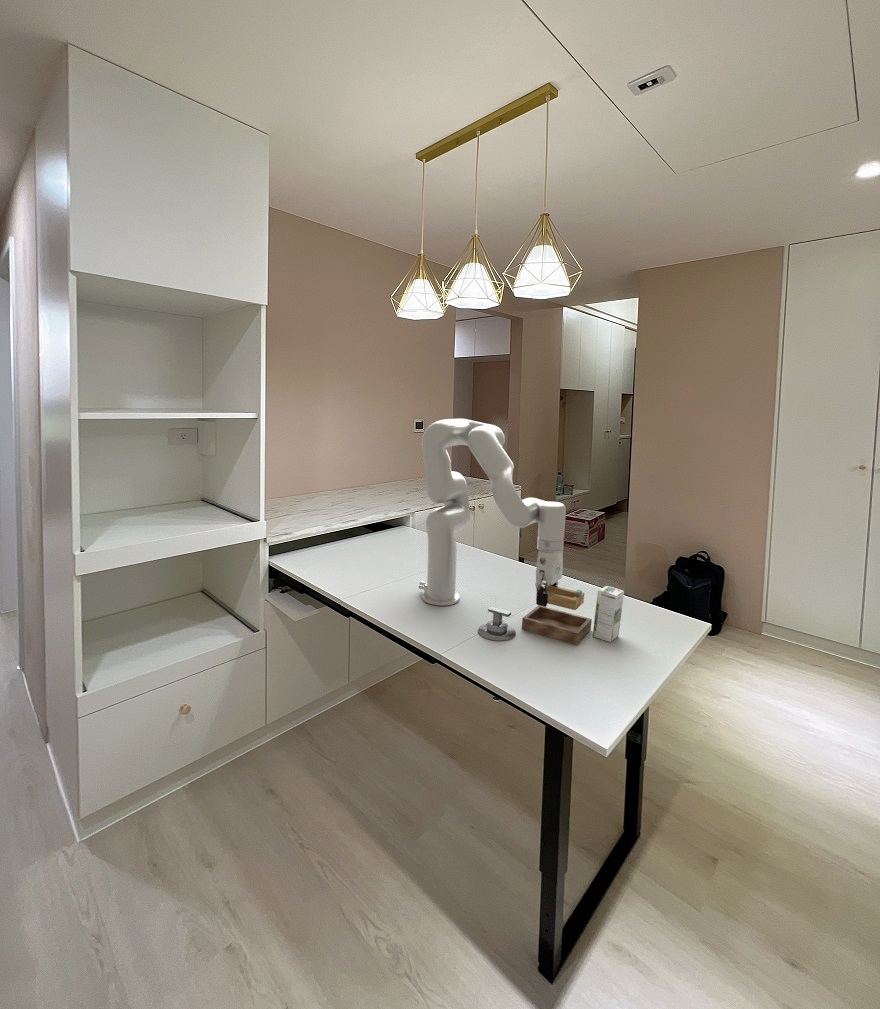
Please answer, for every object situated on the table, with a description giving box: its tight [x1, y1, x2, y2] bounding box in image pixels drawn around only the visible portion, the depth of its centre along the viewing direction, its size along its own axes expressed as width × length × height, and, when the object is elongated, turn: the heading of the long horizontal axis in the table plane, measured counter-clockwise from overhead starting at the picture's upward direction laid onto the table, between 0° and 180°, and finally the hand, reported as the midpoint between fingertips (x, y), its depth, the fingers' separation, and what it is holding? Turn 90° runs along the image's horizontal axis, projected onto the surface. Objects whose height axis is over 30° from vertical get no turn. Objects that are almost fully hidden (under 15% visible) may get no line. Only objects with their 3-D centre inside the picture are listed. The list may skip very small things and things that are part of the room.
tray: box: [521, 605, 593, 646], centre depth 159 cm, size 17×12×4 cm
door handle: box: [477, 606, 517, 642], centre depth 156 cm, size 11×11×7 cm
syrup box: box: [592, 585, 625, 643], centre depth 155 cm, size 6×6×14 cm
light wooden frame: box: [535, 585, 585, 611], centre depth 157 cm, size 7×12×4 cm, turn 56°
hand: (546, 600), depth 160 cm, fingers closed on light wooden frame, 7 cm apart
